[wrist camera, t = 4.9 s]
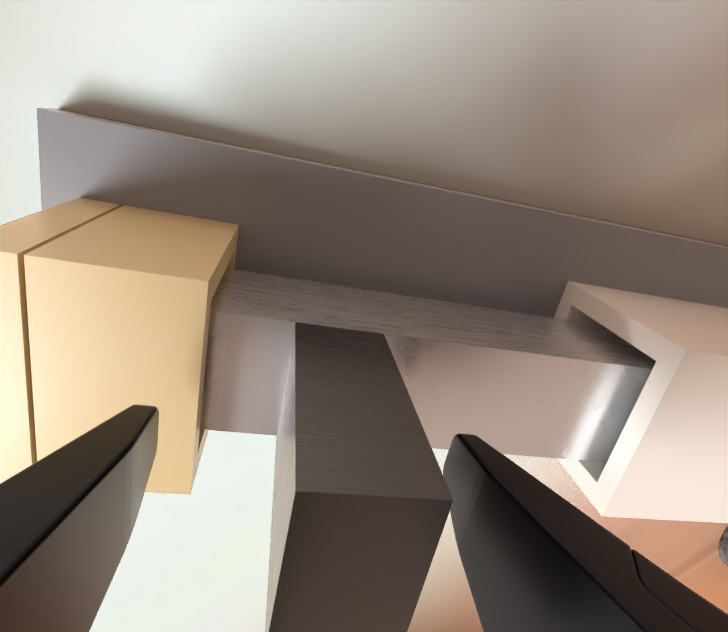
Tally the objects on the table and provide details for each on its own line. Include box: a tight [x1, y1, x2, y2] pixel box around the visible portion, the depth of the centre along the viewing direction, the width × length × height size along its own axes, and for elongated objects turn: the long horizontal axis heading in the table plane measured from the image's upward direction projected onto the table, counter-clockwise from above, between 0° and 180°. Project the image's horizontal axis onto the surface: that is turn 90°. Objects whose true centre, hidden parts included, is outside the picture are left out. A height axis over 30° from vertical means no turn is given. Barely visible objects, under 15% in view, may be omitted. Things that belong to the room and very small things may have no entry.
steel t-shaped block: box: [200, 268, 656, 632], centre depth 10 cm, size 3×17×8 cm, turn 78°
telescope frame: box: [0, 108, 728, 523], centre depth 14 cm, size 9×29×6 cm, turn 78°
